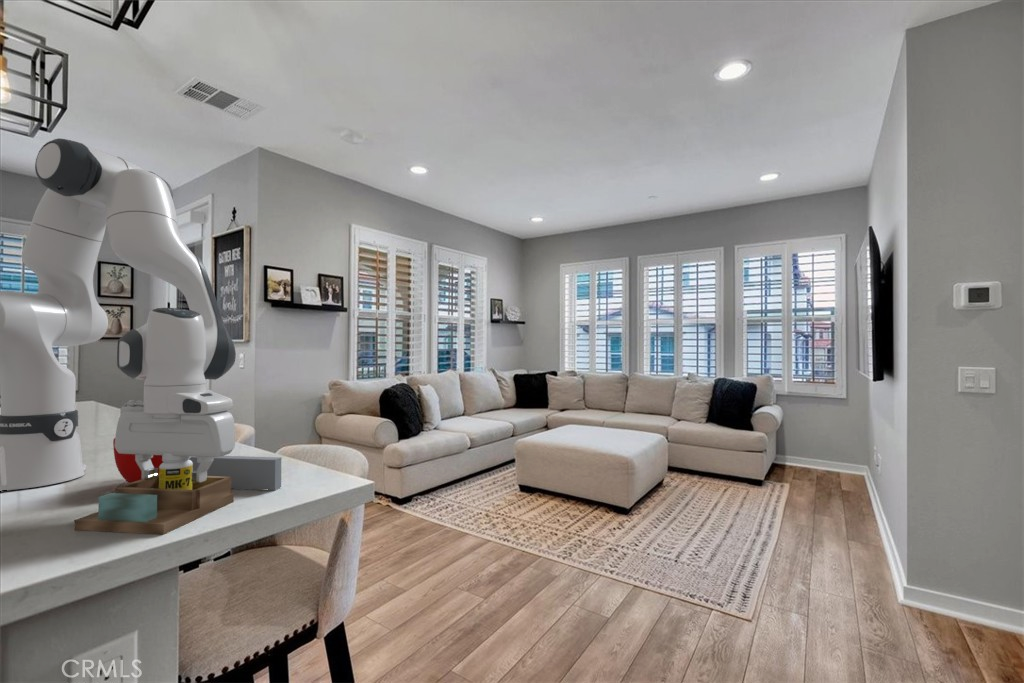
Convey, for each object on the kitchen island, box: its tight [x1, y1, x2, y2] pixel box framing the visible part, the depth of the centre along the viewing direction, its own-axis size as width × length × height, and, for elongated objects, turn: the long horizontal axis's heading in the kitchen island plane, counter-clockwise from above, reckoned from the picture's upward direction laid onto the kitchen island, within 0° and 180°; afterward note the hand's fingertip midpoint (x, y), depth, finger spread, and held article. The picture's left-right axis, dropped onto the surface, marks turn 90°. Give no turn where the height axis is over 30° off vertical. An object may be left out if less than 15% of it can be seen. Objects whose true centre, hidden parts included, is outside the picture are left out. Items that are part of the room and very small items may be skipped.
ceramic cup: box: [112, 437, 164, 484], centre depth 97 cm, size 13×17×10 cm
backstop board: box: [189, 455, 282, 491], centre depth 94 cm, size 20×2×6 cm, turn 84°
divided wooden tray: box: [73, 475, 235, 535], centre depth 79 cm, size 15×15×5 cm
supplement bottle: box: [159, 454, 193, 490], centre depth 82 cm, size 5×5×8 cm
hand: (174, 480), depth 81 cm, fingers open, 8 cm apart
